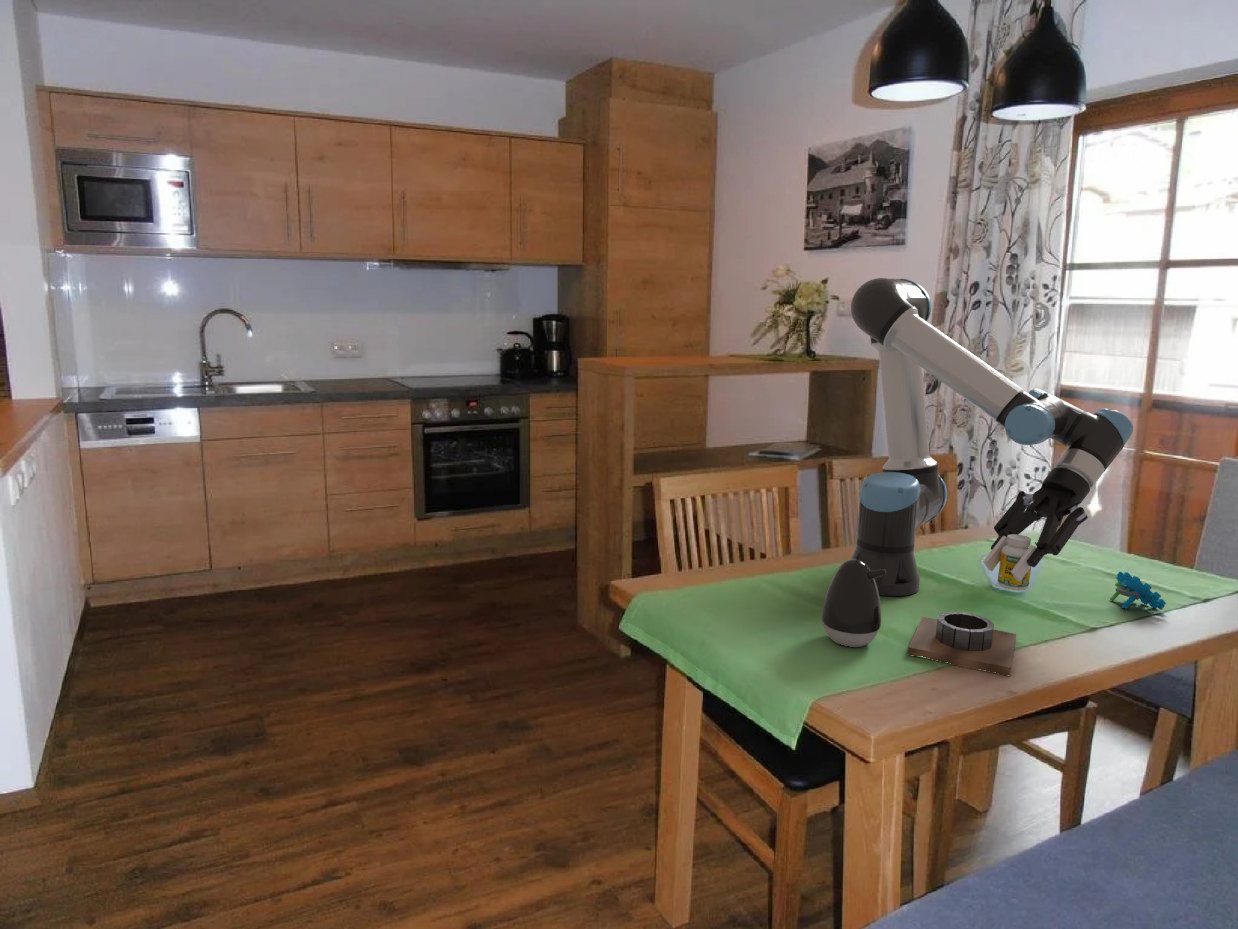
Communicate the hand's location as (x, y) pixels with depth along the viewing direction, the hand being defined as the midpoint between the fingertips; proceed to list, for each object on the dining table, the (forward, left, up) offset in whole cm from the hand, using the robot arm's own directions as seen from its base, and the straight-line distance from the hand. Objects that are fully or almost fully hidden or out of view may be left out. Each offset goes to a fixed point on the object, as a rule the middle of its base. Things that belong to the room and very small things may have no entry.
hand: (1001, 571), depth 155 cm
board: (-4, -14, -11) cm, 18 cm away
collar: (-4, -14, -9) cm, 17 cm away
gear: (+24, +26, -11) cm, 37 cm away
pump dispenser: (-22, -21, -11) cm, 32 cm away
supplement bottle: (+2, +3, -4) cm, 5 cm away
